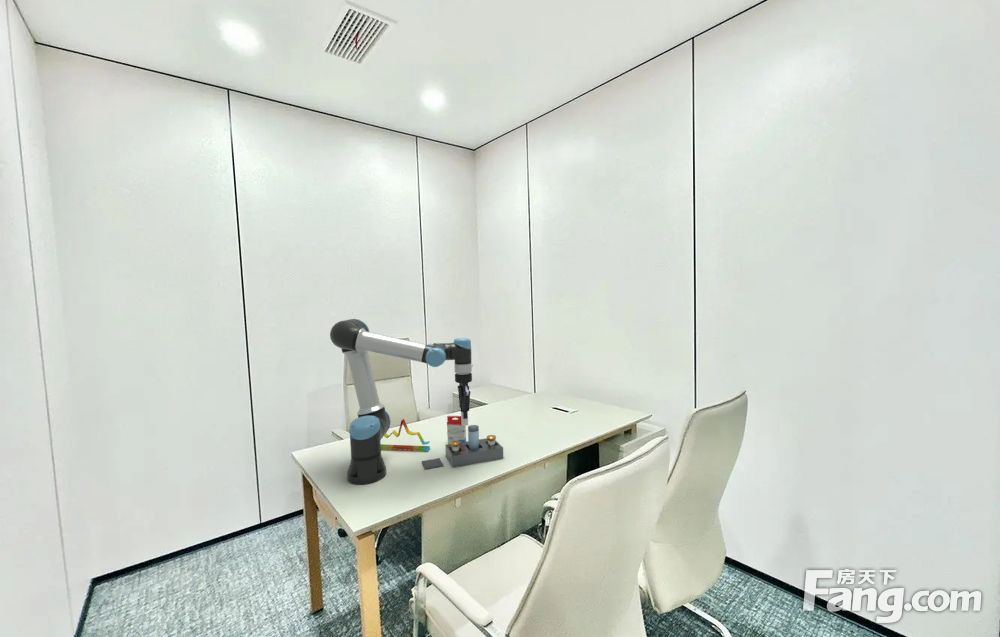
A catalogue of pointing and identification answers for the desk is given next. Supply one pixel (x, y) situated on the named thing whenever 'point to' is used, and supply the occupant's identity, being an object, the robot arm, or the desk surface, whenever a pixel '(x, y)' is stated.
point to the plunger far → (491, 440)
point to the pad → (432, 463)
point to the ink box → (455, 429)
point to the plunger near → (455, 446)
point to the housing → (474, 453)
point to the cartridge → (473, 437)
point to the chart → (406, 447)
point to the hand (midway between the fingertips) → (464, 425)
